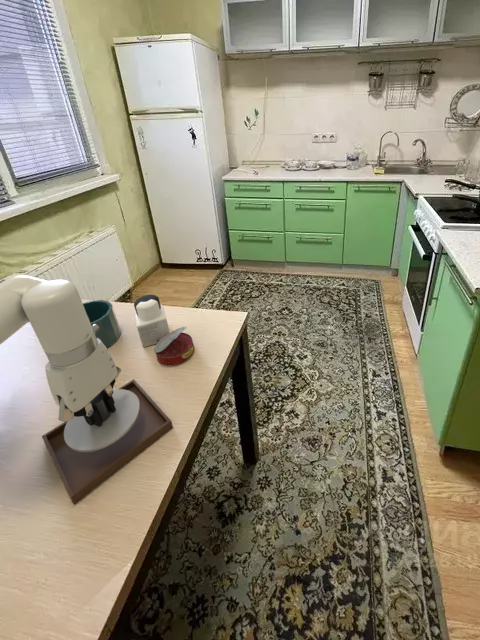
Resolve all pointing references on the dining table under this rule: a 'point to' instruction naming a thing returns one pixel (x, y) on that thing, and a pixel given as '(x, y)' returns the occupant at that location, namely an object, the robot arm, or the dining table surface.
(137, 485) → the dining table surface
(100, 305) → the canister
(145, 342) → the container
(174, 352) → the canned food
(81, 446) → the lid
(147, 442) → the tray
